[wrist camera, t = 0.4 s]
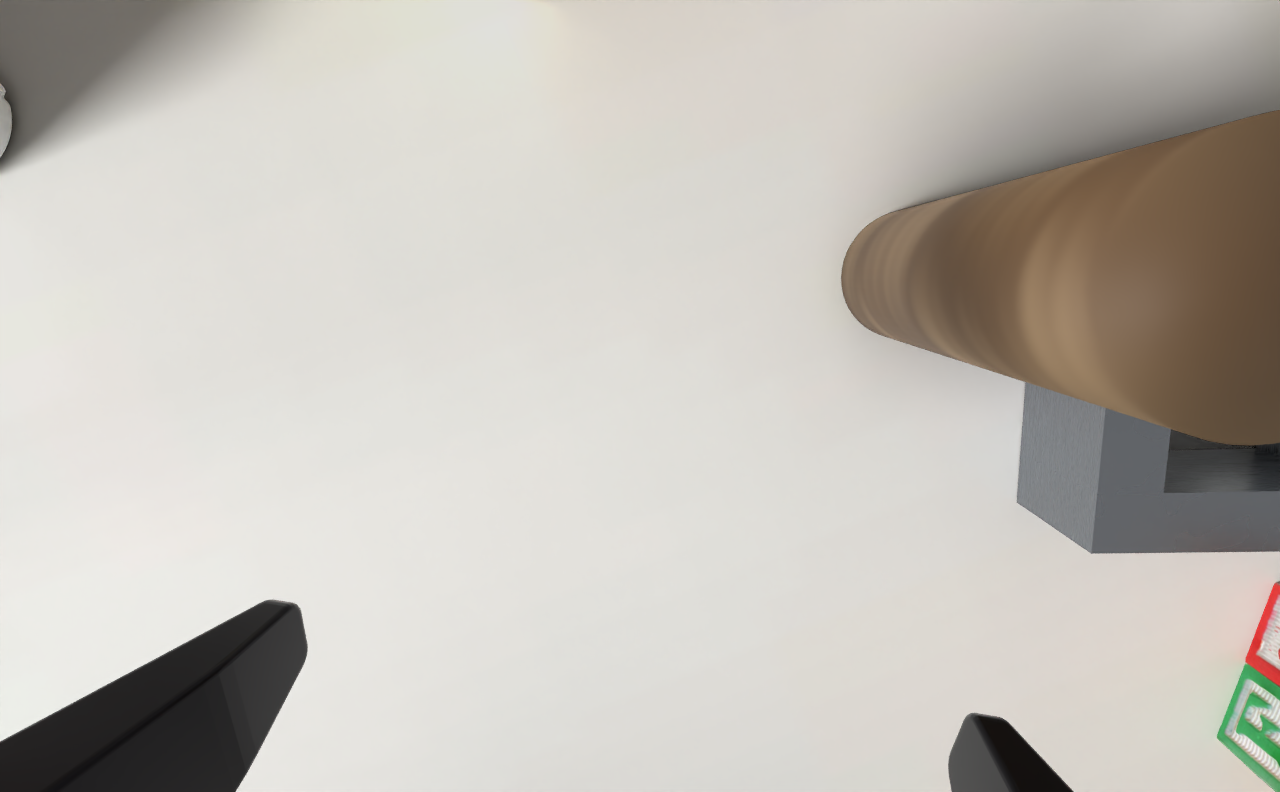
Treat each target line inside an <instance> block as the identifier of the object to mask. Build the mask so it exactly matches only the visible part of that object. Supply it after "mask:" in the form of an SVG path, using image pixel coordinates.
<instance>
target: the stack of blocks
mask: <svg viewBox="0 0 1280 792" xmlns="http://www.w3.org/2000/svg"><path fill="white" fill-rule="evenodd" d="M1217 739H1218V740H1219V741H1220V742H1221V743H1222V744H1223V745H1225V746H1226V747H1227V748H1228V749H1229V750H1230V751H1231V752H1232V753H1233V754H1234V755H1236V756H1237V757H1238V758H1239V759H1240V760H1241V761H1242V762H1243V763H1244V764H1245V765H1246V766H1247V767H1248V768H1249V769H1250V770H1252V771H1253V772H1254V773H1255V774H1256V775H1257V776H1258V777H1259V778H1260V779H1262V780H1263V781H1264V782H1265V783H1266V784H1267V785H1268V786H1269V787H1271V788H1272V789H1273V790H1274V791H1275V792H1280V582H1277V583H1275V584H1274V586H1273V588H1272V591H1271V594H1270V596H1269V599H1268V602H1267V604H1266V607H1265V609H1264V612H1263V615H1262V617H1261V620H1260V622H1259V625H1258V628H1257V630H1256V633H1255V636H1254V638H1253V641H1252V644H1251V646H1250V649H1249V652H1248V654H1247V656H1246V662H1245V666H1244V669H1243V671H1242V674H1241V676H1240V679H1239V681H1238V684H1237V686H1236V689H1235V692H1234V694H1233V697H1232V699H1231V702H1230V704H1229V707H1228V709H1227V712H1226V715H1225V717H1224V720H1223V723H1222V725H1221V727H1220V730H1219V732H1218V734H1217Z"/></svg>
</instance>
